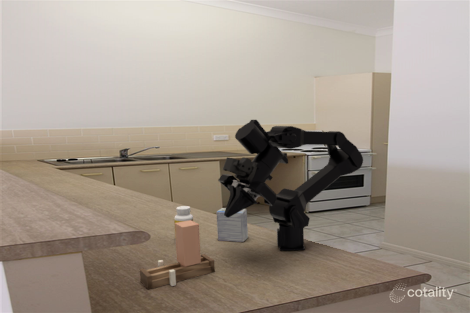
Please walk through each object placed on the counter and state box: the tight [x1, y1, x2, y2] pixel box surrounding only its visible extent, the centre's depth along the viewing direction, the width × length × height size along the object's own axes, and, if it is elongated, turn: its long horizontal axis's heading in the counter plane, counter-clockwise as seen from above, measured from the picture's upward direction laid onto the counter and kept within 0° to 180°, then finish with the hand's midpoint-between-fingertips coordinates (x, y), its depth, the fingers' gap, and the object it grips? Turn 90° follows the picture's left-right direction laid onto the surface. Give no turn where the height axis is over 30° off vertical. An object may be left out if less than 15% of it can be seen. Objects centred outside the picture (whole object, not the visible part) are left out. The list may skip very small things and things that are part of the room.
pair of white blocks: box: [157, 259, 177, 287], centre depth 91 cm, size 1×8×3 cm, turn 31°
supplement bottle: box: [173, 205, 194, 242], centre depth 118 cm, size 5×5×10 cm
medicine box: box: [216, 207, 249, 243], centre depth 118 cm, size 8×4×9 cm, turn 71°
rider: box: [174, 220, 202, 267], centre depth 93 cm, size 4×4×10 cm
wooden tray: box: [139, 253, 216, 290], centre depth 92 cm, size 16×5×3 cm, turn 121°
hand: (225, 216), depth 98 cm, fingers closed
